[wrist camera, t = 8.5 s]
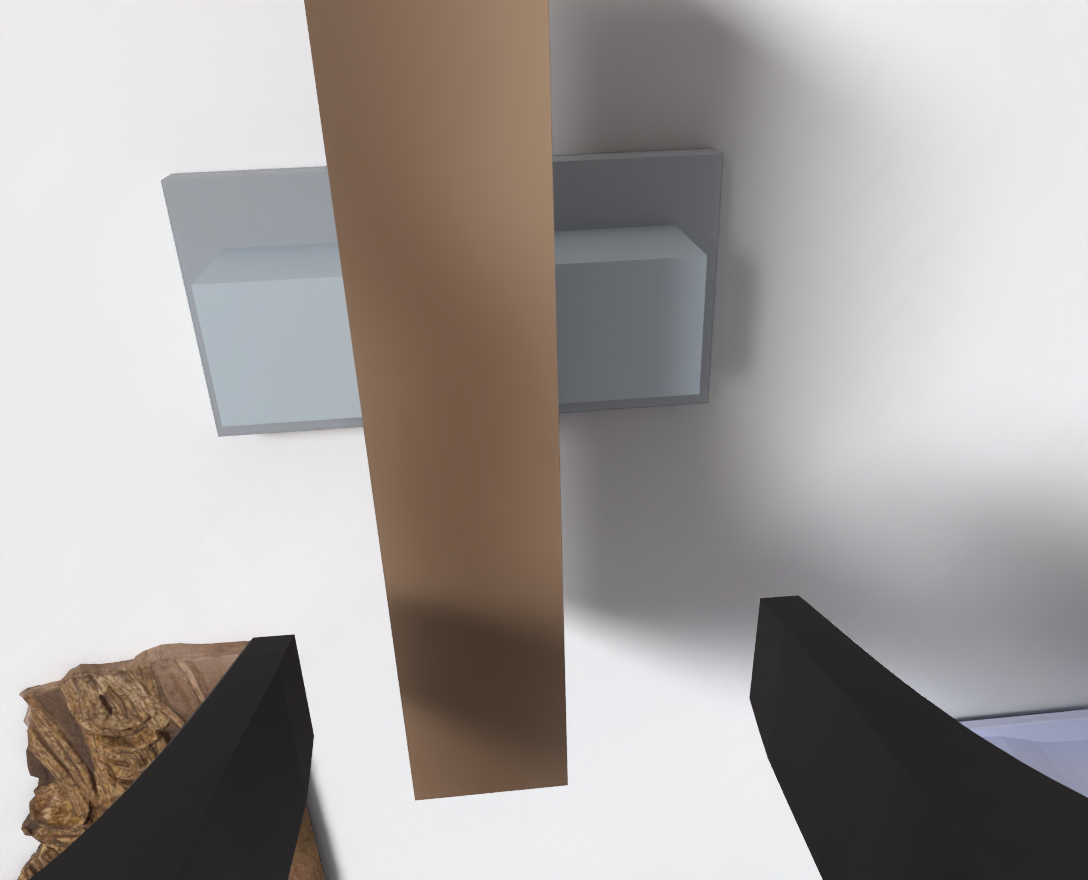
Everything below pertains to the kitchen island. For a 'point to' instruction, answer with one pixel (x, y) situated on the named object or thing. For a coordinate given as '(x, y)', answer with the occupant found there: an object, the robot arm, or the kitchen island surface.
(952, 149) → the kitchen island surface
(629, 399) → the fulcrum stand
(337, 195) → the walnut beam
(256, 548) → the kitchen island surface
